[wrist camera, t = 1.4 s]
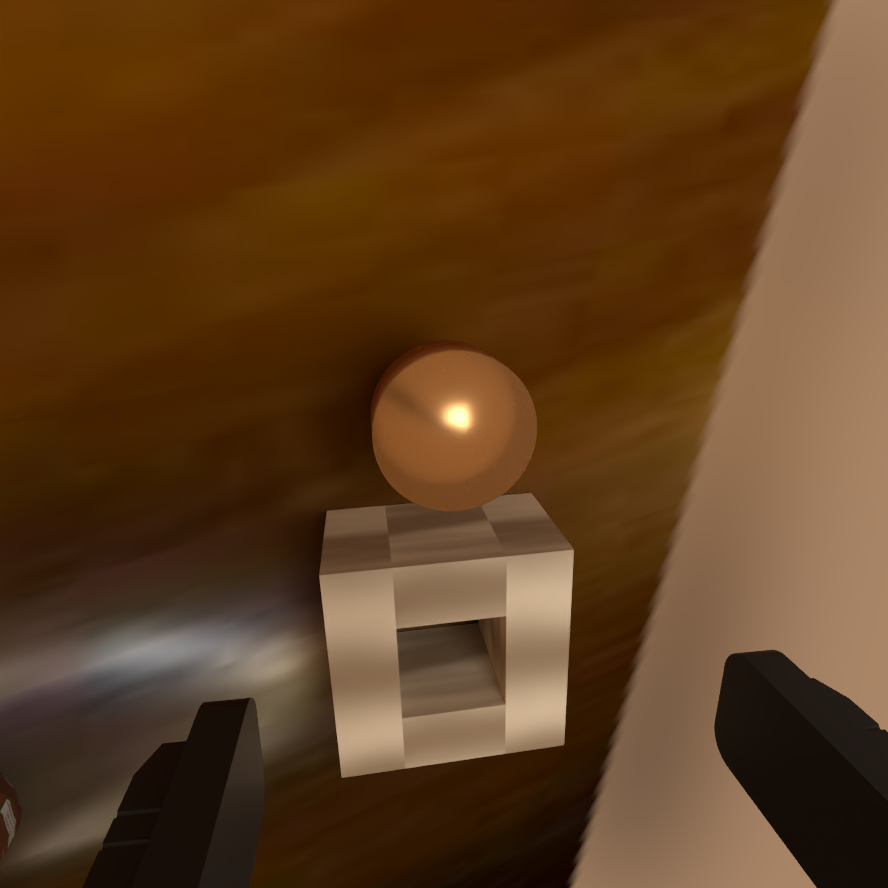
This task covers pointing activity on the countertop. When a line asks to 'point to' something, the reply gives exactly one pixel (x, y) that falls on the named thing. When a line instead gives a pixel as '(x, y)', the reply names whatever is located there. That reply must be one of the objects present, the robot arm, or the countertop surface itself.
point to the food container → (8, 814)
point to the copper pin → (451, 426)
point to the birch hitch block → (445, 632)
